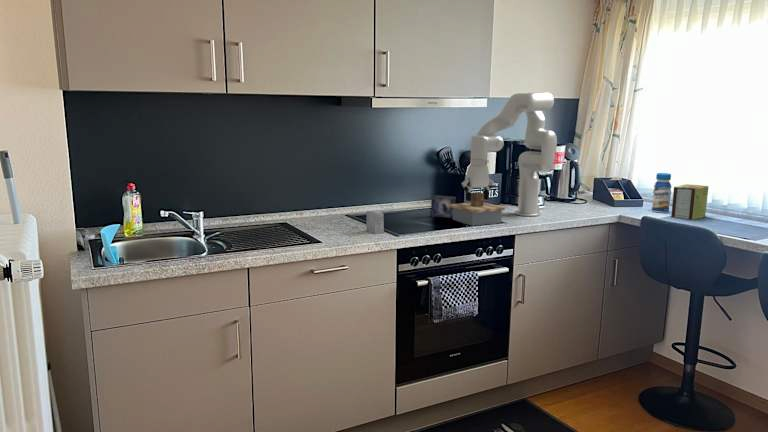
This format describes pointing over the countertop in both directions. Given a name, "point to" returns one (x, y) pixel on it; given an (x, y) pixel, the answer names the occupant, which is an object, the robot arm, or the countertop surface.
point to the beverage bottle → (662, 193)
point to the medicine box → (375, 222)
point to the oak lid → (477, 204)
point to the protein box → (689, 201)
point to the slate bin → (477, 217)
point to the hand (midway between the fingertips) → (477, 199)
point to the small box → (442, 206)
